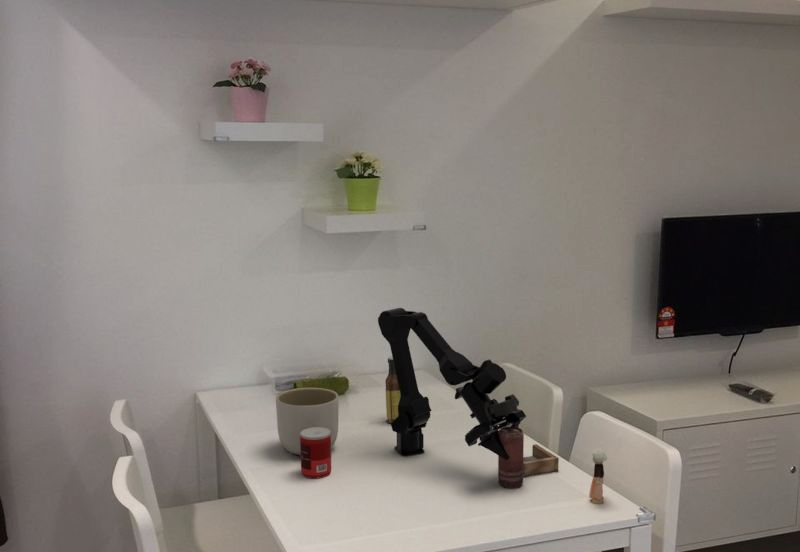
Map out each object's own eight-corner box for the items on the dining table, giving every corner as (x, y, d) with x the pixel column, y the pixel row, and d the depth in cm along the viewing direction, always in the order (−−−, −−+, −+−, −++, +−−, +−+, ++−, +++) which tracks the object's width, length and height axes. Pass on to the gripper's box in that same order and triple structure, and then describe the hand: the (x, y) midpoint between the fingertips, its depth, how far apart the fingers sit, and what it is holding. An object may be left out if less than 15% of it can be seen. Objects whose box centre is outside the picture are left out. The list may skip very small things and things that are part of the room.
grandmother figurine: (587, 494, 218) (588, 443, 216) (603, 494, 218) (605, 444, 216) (590, 507, 211) (592, 455, 209) (607, 507, 210) (609, 455, 208)
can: (495, 479, 227) (495, 426, 225) (520, 478, 228) (520, 425, 225) (499, 489, 221) (500, 434, 219) (525, 488, 222) (526, 433, 219)
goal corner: (520, 477, 229) (521, 464, 228) (499, 462, 239) (500, 450, 238) (558, 471, 233) (558, 458, 232) (536, 456, 243) (536, 444, 242)
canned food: (336, 469, 235) (335, 428, 233) (323, 480, 228) (322, 438, 226) (309, 465, 238) (308, 425, 236) (296, 476, 230) (294, 435, 228)
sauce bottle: (411, 420, 273) (411, 356, 269) (400, 426, 267) (399, 361, 264) (393, 417, 276) (392, 353, 273) (381, 422, 271) (381, 358, 268)
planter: (314, 465, 238) (313, 409, 235) (264, 453, 247) (262, 399, 244) (351, 445, 252) (350, 393, 249) (303, 435, 261) (301, 384, 258)
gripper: (474, 394, 216) (511, 449, 211) (520, 378, 230) (556, 429, 224) (449, 419, 223) (484, 473, 218) (495, 401, 236) (529, 452, 231)
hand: (515, 456), depth 222 cm, fingers closed on can, 5 cm apart
